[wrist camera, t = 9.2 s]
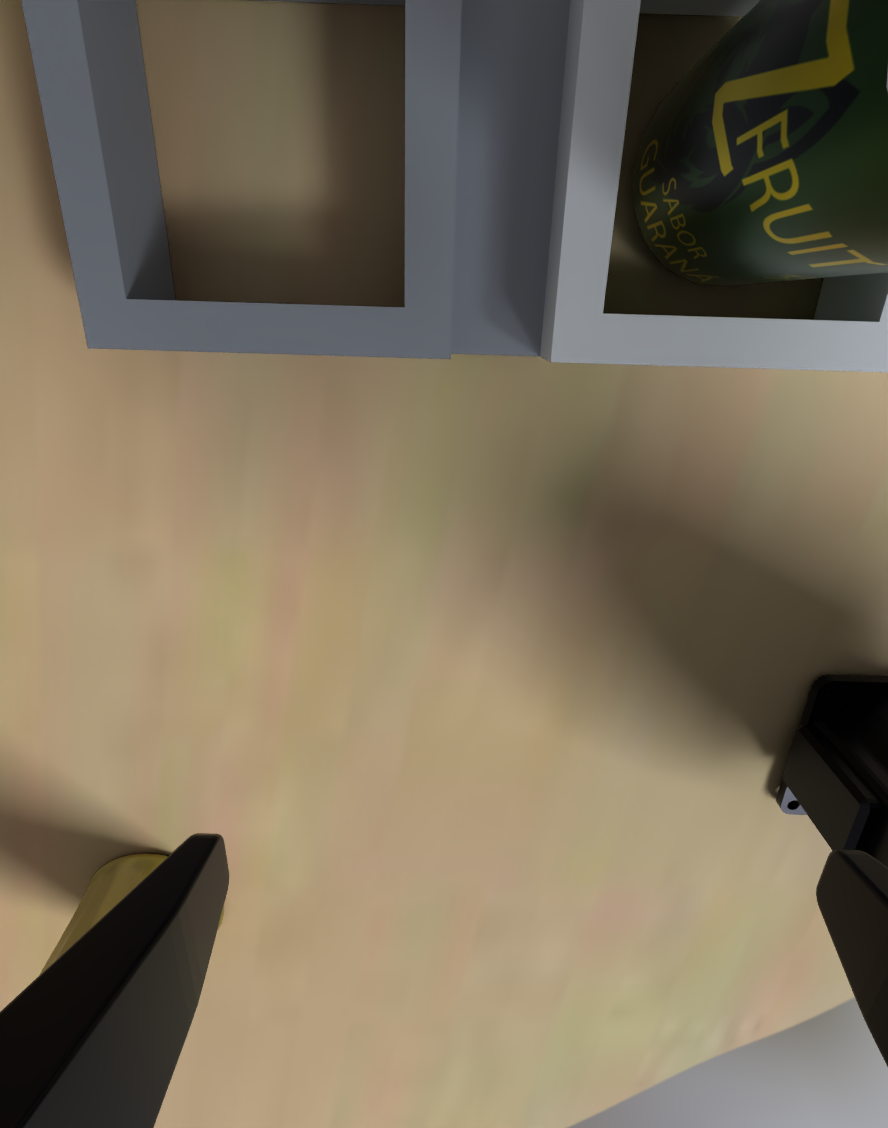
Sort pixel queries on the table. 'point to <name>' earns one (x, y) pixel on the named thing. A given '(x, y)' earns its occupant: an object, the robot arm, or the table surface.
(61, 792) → the table surface
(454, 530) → the table surface
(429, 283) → the grey double square frame
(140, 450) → the table surface
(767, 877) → the table surface
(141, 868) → the vase
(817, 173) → the beer can
